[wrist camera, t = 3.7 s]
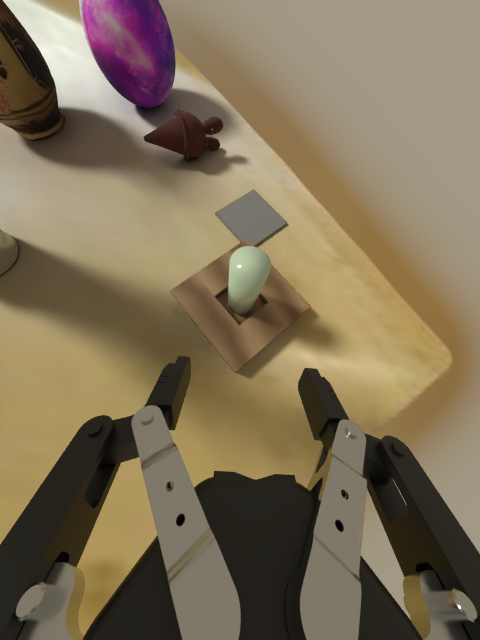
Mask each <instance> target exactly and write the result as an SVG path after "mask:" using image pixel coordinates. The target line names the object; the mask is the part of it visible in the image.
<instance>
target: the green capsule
mask: <svg viewBox="0 0 480 640" xmlns="http://www.w3.org/2000/svg"><path fill="white" fill-rule="evenodd" d="M270 270H271V262H270V259H269V257H268V255H267V254H266V253H265V252H264V251H263V250H261V249H259V248H257V247H254V246H244V247H241V248H239V249H237V250H236V251H235V252H234V253H233V254H232V256H231V258H230V263H229V284H228V307H229V309H230V310H231V312H233V313H234V314H236V315H245V314H248V313H249V312H250V311H251V310H252V308H253V306H254V304H255V302H256V300H257V298H258V296H259V294H260V292H261V289H262V287H263V285H264V283H265V281H266V279H267V277H268V275H269V273H270Z"/></svg>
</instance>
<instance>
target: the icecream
mask: <svg viewBox="0 0 480 640" xmlns="http://www.w3.org/2000/svg"><path fill="white" fill-rule="evenodd" d="M174 116H175V118H174V119H173V120H171V121H169V122H168V123H166V124H164V125H162V126H161V127H159V128H157V129H156V130H154V131H152V132H151V133H149V134H147V135H146V136H144V140H145V141H146V142H149V143H152V144H155V145H158V146H161V147H163V148H166V149H169V150H172V151H174V152H177V153H180V154H183V155H184V157H185V160H186V161H188V159H189V158H191V159H192V158H198V157H199V156H200V155H201V154H202V152H203V150H206V149H208V150H216V149H218V148H219V147H220V143H219V141H218V139H215V138H213V137H206V135H205V134H209V135H212V134H216V133H218V132H220V131H221V130H222V128H223V123H222V121H221V119H220V118H217V117H211V118H209V119H208V120H207V121H205V122H204V123H201V122H200V121H199V120H198V118H196V117H195V116H193V115H192V114H190V113H187V112H184V111H183V112H180V111H179V109H178V110H177V111H176V112H175V113H174Z"/></svg>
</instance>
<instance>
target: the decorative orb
mask: <svg viewBox="0 0 480 640" xmlns="http://www.w3.org/2000/svg"><path fill="white" fill-rule="evenodd" d="M79 5H80V14H81V20H82V25H83V29H84V33H85V36H86V39H87V42H88V45H89V47H90V50H91V52H92V54H93V56H94V58H95V60H96V62H97V64H98V66H99V68H100V69H101V71H102V73H103V74H104V76H105V77H106V78H107V80H108V81H109V82H110V84H111V85H112V86H113V87H114V88H115V89H116V90H117V91H118V92H119V93H120V94H121V95H122V96H123V97H124V98H126V99H127V100H128V101H130V102H132V103H133V104H136V105H138V106H141V107H148V108H150V107H155V106H158V105H160V104H161V103H163V102H164V101H165V100H166V98H167V97H168V95H169V94H170V91H171V89H172V86H173V83H174V77H175V51H174V44H173V39H172V35H171V31H170V28H169V25H168V22H167V19H166V16H165V14H164V12H163V9H162V7H161V5H160V3H159V1H158V0H79Z"/></svg>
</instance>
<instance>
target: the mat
mask: <svg viewBox="0 0 480 640" xmlns="http://www.w3.org/2000/svg"><path fill="white" fill-rule="evenodd" d="M215 215H216V216H217V217H218V218H219V219H220V220H221V221H222V222H223V223H224V224H225V225H226V226H227V228H228V229H229V230H230V231H231V232H232V233H233V234H234V235H235V236H236V237H237V238H238V239H239V240H240V242H243V241H244V240H246V239H247V240H248V241H249V242H250V243H251V244H252V245H253V246H254V247H255V246H256V245H257V244H259V243H260V242H262V241H263V240H265V239H266V238H267V237H269V236H270V235H272V234H273V233H275V232H276V231H277V230H279V229H280V228H282V227H283V226H285V225H286V224H287V222H286V221H285V220H284V219H283V218H282V217H281V216H280V215H279V214H278V213H277V212H276V211H275V210H274V209H273V208H272V207H271V206H270V205H269V204H268V203H267V202H266V201H265V200H264V199H263V198H262V197H261V196H260V195H259V194H258V193H257V192H256V191H255V190H252V191H250V192H249V193H247V194H245V195H244V196H242V197H240V198H239V199H237V200H235V201H234V202H232V203H231V204H229V205H227V206H226V207H224V208H222V209H221V210H219V211H217V212H216V213H215Z"/></svg>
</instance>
